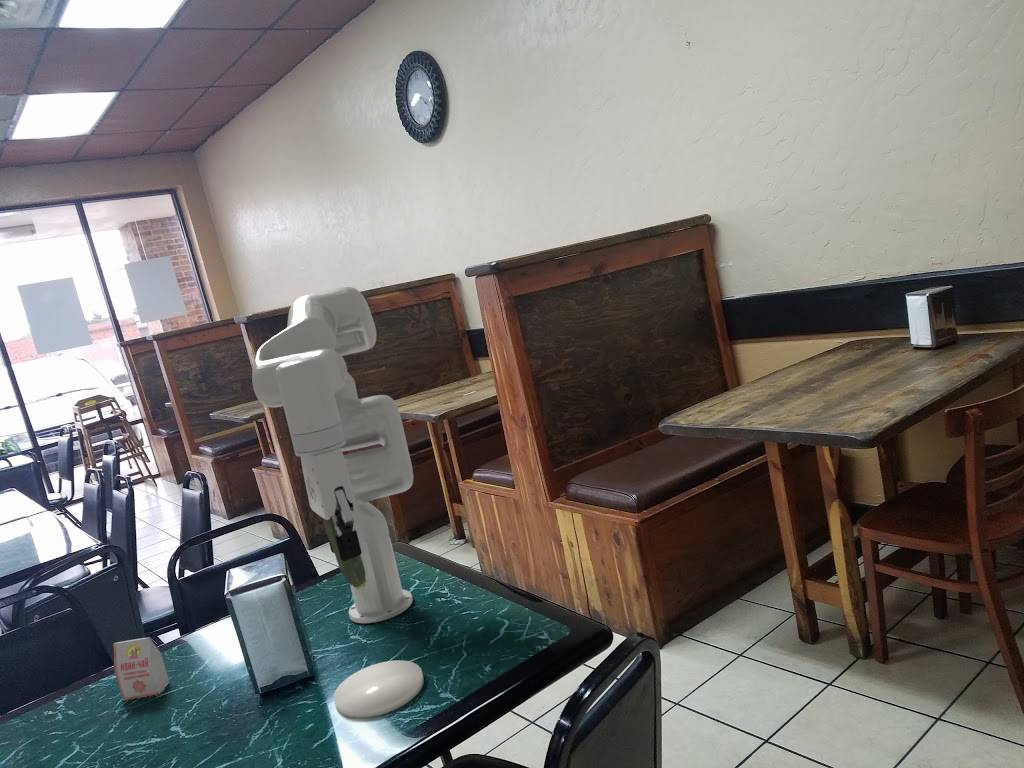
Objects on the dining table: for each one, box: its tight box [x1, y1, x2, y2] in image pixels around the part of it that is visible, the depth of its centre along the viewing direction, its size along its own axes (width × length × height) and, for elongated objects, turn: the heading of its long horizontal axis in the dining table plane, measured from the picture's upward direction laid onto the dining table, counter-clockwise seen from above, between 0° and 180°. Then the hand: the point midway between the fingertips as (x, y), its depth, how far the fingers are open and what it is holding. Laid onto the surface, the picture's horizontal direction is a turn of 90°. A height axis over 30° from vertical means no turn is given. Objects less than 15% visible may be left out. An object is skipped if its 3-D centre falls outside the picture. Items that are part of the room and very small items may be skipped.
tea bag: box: [112, 636, 170, 701], centre depth 138 cm, size 4×7×10 cm, turn 87°
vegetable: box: [322, 502, 366, 589], centre depth 119 cm, size 4×4×20 cm
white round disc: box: [333, 659, 425, 719], centre depth 123 cm, size 14×14×1 cm
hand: (346, 552), depth 119 cm, fingers closed on vegetable, 4 cm apart
